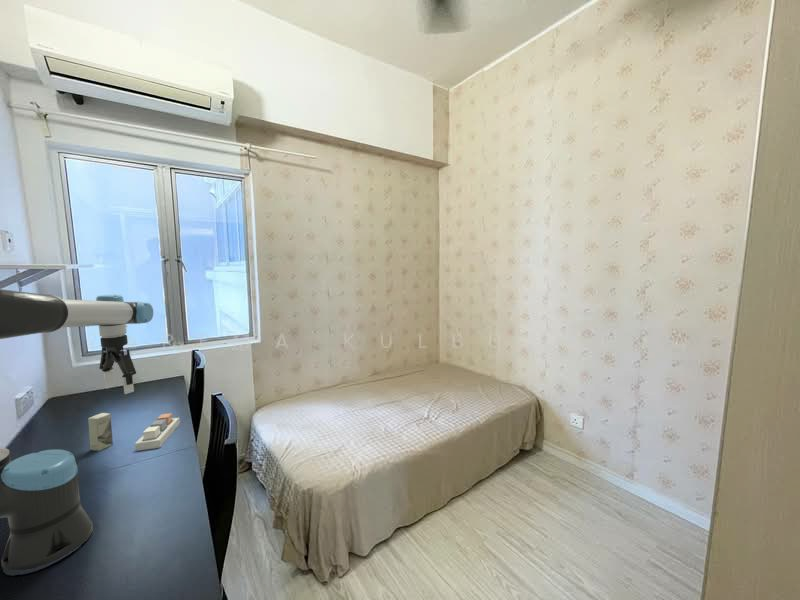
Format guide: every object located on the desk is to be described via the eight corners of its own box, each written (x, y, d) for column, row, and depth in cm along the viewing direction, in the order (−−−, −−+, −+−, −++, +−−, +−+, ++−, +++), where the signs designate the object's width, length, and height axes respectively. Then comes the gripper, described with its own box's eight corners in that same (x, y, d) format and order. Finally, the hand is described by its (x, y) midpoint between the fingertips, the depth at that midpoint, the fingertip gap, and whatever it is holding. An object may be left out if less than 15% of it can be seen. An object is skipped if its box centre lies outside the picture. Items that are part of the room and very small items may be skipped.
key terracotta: (168, 424, 136) (168, 417, 136) (157, 425, 135) (157, 418, 135) (172, 420, 140) (171, 413, 140) (161, 421, 139) (161, 414, 138)
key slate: (162, 431, 130) (161, 423, 130) (151, 432, 129) (150, 425, 129) (166, 426, 134) (166, 419, 134) (155, 427, 133) (154, 420, 133)
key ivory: (155, 438, 125) (155, 430, 124) (143, 440, 123) (143, 432, 123) (160, 433, 128) (159, 425, 128) (148, 434, 127) (148, 427, 127)
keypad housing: (160, 447, 123) (159, 440, 123) (135, 450, 121) (134, 443, 121) (179, 423, 143) (179, 417, 142) (159, 426, 140) (158, 419, 140)
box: (99, 451, 121) (95, 419, 120) (90, 450, 122) (86, 418, 121) (114, 444, 126) (111, 413, 125) (105, 443, 127) (102, 412, 126)
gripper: (144, 336, 118) (149, 391, 120) (108, 331, 128) (113, 382, 130) (119, 340, 111) (125, 398, 113) (84, 334, 121) (90, 388, 123)
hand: (119, 390), depth 122 cm, fingers open, 13 cm apart
